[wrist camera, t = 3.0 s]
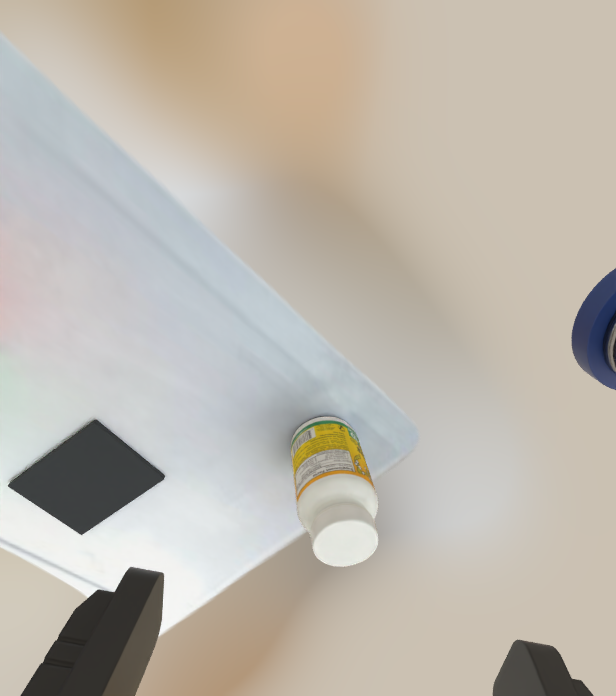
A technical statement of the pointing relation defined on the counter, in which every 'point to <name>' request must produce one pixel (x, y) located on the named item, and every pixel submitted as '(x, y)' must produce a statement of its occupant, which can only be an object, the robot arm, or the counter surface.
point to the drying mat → (87, 478)
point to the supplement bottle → (334, 491)
